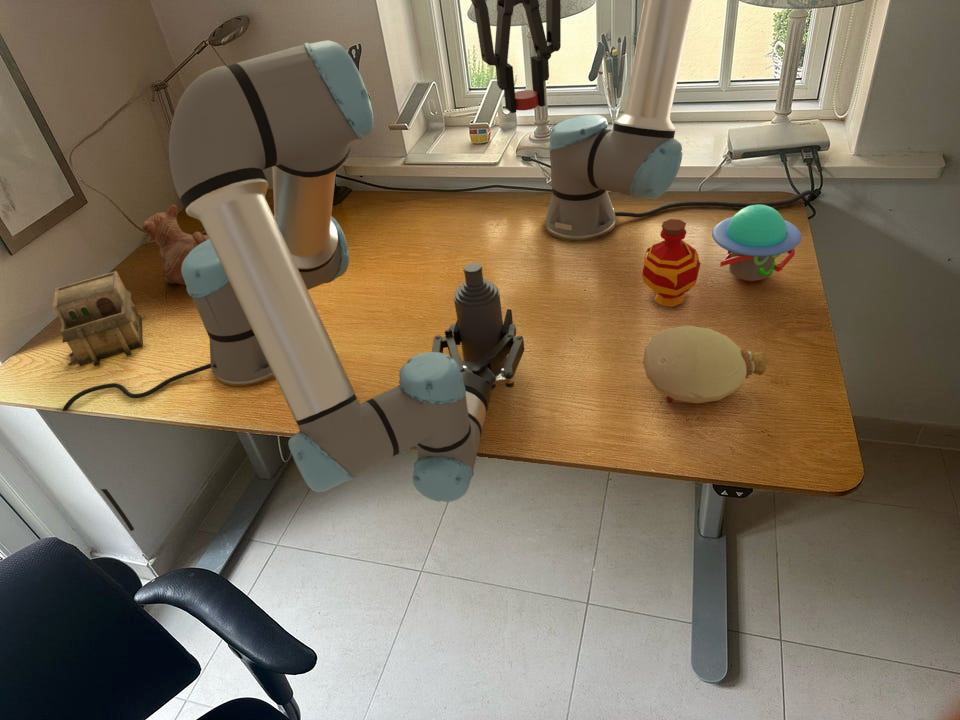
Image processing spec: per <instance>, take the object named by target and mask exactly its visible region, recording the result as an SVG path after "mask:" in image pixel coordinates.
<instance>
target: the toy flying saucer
mask: <svg viewBox="0 0 960 720" xmlns="http://www.w3.org/2000/svg"><path fill="white" fill-rule="evenodd" d="M711 237H712V239H713V241H714V242H715V243H716V244H717V245H718V246H719V247H721V248H722V249H724V250H726V251H727V255H726V256H725V257H724V258H723V259H721V261H720V266H719V267H725V266H728V270H729V272H730V274H731V275H733V276H734V277H735V278H738V279H741V280H743V281H745V282H756V281H761V280H765V279H767V278H769V277H770V276H772V274H773V273H774V271H775V272H777V273H779V272H781V271H783V269H784V268H785V266H787V264H788V263H789V262H790V261H791V260H792V259H793V257H795V253H796V249H795V248H796V247H797V246H799V244H800V243H801V241H802V232H801V231H800V229H799V228H798V227H797V226H796V225H795V224H794V223H791V222H790V221H788V220H786V219H784V217H783V216H782V214H780V212H779V211H778V210H776V209H775V208H774V207H769V206H766V205H751V206H748V207H745V208H742V209H740V210H739V211H737V212H736V213H735V214H734V215H733V216H730V217H727V218H725V219H723V220H721V221H719V222H718V223H717V224H716V225H715V226H714V227H713V229H712V230H711ZM785 253H787V254H788V255H787V256H786V257H785V258H784V259H783V260H782V261H781V262H780V263H778V264H777V263H776V261H775V260H776V258H779V257H780V256H781V255H782V254H785Z"/></svg>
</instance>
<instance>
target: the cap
mask: <svg viewBox="0 0 960 720" xmlns="http://www.w3.org/2000/svg"><path fill="white" fill-rule="evenodd" d="M515 100H516V111H530V110H533V109H535V108H538V107H539V102H538V93H537V92H536V91H533V89H525V90H518V91H515Z"/></svg>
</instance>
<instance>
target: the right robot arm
mask: <svg viewBox="0 0 960 720" xmlns="http://www.w3.org/2000/svg"><path fill="white" fill-rule="evenodd" d="M470 1H471V4H472V5H473V8H474V15H475V22H476V28H477V36H478V42H479V48H480V55H481V60H482V61H483V62H484V63H485V64H487V65H488V66H494V67H495V73H496V75H495V76H496V85H497V86H498V89H500V90H501V91H503V93H504V102H505V103H504V104H505V109H506V110H507V111H508V112H510V114H515V113H517V110H516V100H515V92H516V88H515V78H514V67H513V66H512V65H511V64H510V63H509V62H508V61H509V60H508V59H509V50H510V49H509V47H510V36H511V28H512V27H511V26H512V25H511V24H512V15H513V14H514V7H516V6H518V5H519V4H522V7H523V8H524V11H525V15H526V19H527V23H528V28H529V32H530V34H531V35H530V36H531V40H532V44H533V48H534V52H535V54H536V55H534V56H530V63H531V64H530V65H531V78H532V80H531V81H532V90H533V91H536V92H537V93H538V102H539V105H538V107H540V108H541V107H545V106H546V97H545V82H546V81H549V78H550V66H549V65H550V64H549V63H550V62H549V60H550V59H551V57H552V54H553V53H555V52H558V51H560V49H561V48H562V45H561V43H562V42H561V41H562V40H561V39H562V38H561V37H562V36H561V33H562V31H561V30H562V29H561V27H562V26H561V24H562V23H561V21H562V20H561V19H562V16H561V15H562V14H561V13H562V11H561V7H562V6H561V4H562V3H561V0H545V24H546V25H545V29H544V24H543V20H542V15H541V12H540V2H539V0H496V12H497V13H496V14H497V16H496V25H495V26H496V27H495V28H496V30H495V42H493V34H492V28H491V21H490V15H489V7H488V4H487V1H488V0H470ZM694 2H695V0H643V5H642V11H641V15H640V16H641V17H640V22H639V28H638V33H637V38H636V45H635V49H634V56H633V61H632V67H631V72H630V77H629V83H628V88H627V90H628V91H627V95H626V100H625V105H624V106H625V107H624V110H623V113H622V114H621V115H620V116H619V117H617V118H616V119H615V120H614V123H613V128H608V126H609V123H608V120H607V118H606V117H605V116H603V115H599V114H587V115H579V116H574V117H571V118H568V119H565V120H562V121H560V122H558V123H557V124H555V125H554V126H553V127H552V128H551V130H550V132H549V147H548V150H549V161H550V174H551V175H550V176H551V188H552V189H551V190H552V191H551V193H552V194H551V198H550V202H549V206H548V209H547V213H546V216H545V229H546V232H547V233H548V234H549V236H550V235H551V236H552V237H553V238H556V239H558V240H561V241H567V242H586V241H587V242H588V241H594V240H597V239H600V238H604V237H605V236H607V235H608V234H610V233H611V232H613V230H614V229H615V227H616V223H617V218H616V217H627V218H628V217H629V218H645V217H649V216H652V215H655V214H657V213H660V212H663V211H665V210H668V209H673V208H681V207H707V206H708V207H728V208H742V209H743V208H745V207H748V206H751V205H766V206H769V207H772V208H774V207H781V206H786V205H792V204H793V203H796V202H797V201H800V200H801V199H803V198H804V197H807V196H809V195H810V196H812V197H814V198H817V197H819V196H820V195H819V194H818V195H817V196H813V195H812V194H811V190H812V189H809V190H804V191H803V192H801V193H799V194H797V195H795V196H793V197H792V198H790V199H785V200H784V199H783V200H778V201H769V202H768V201H767V202H731V201H717V200H715V201H714V200H712V201H711V200H709V201H707V200H705V201H704V200H700V201H699V200H697V201H696V200H693V201H690V200H689V201H678V202H672V203H667V204H664V205H661V206H659V207H656V208H653V209H651V210H648V211H644V212H629V211H615V209H614V205H613V204H612V200H611V198H610V195H609V192H613V193H617V194H620V195H625V196H630V197H631V198H633V199H645V200H655V199H657V198H660V197H661V196H662V195H664V194H665V193H666V192H667V191H668V190H669V188H670V187H671V186H672V184H673V183H674V181H675V180H676V177H677V176H678V173H679V169H680V167H681V164H682V159H683V146H682V144H681V142H680V141H678V139H676V138H675V134H676V130H677V128H676V127H675V125H674V123H673V122H672V121H671V115H672V109H673V105H674V99H675V93H676V89H677V84H678V79H679V74H680V70H681V65H682V59H683V55H684V50H685V45H686V40H687V36H688V31H689V25H690V21H691V17H692V10H693V6H694ZM545 30H546V31H545ZM545 33H546V34H545Z"/></svg>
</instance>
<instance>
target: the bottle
mask: <svg viewBox="0 0 960 720" xmlns="http://www.w3.org/2000/svg"><path fill="white" fill-rule="evenodd" d="M463 273H464V278H465V279H464V281H463V282H462V283H461V284H460V285H459V286H458V287H457V288H456V290H455V291H454V293H453V302H454V308H455V313H456V314H455V315H456V321H457V320H458V326H459V332H460V338H461V343H460V345H461V348H462V349H461V350H462V355H463V361H468V362H477V361H480V360H481V359H482V358H483V357H484V356H487V355H488V354H489V353H490V352H491V351H492V350H493V348H494V347H495V346H496V345H497V344H498V343H499V342H500V341H501V339H502V328H503V324H504V319H503V311H502V302H501V295H500V294H501V293H500V289H499V288H498V287H497V285H496V284H495V283H493V282H492V281H490V280H488V279H487V278H485V277H484V274H483V266H482V264H481V263H479V262H470V263H467V264H466V265H464V266H463ZM507 357H508V356H507ZM507 357H506V358H505V359H504V360H503V361H502V362H501V364H500V365H499V366H498V367H497V368H496V369H495V371H494V375H495V376H497V375H499V373H500V372H501V369H502V368H504V364H505V362H506V359H507Z"/></svg>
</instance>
